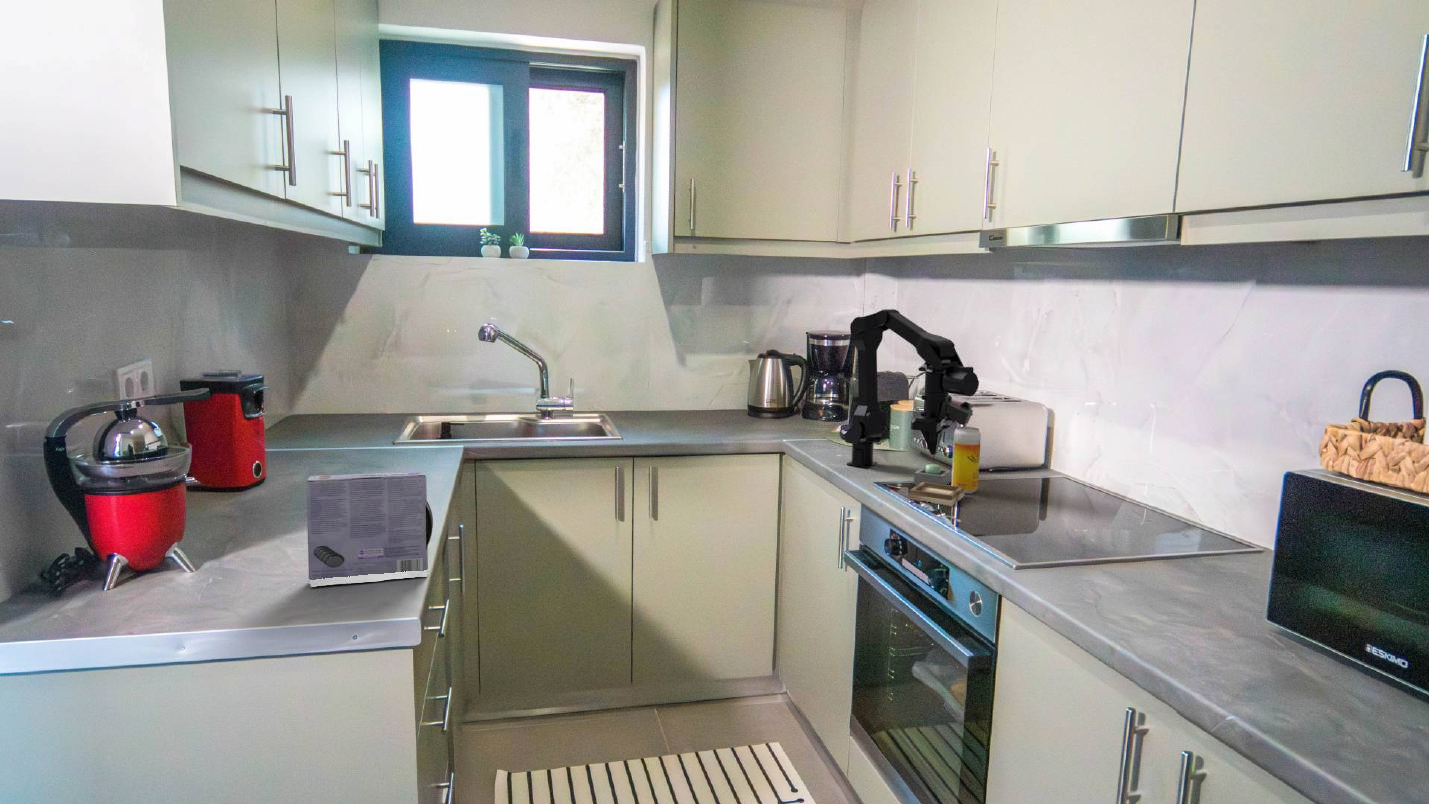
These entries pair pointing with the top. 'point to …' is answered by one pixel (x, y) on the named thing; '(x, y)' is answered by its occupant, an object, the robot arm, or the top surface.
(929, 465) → the button
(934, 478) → the button console
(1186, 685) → the top surface
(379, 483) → the cake pan box
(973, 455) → the beer can
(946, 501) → the shallow wooden tray
